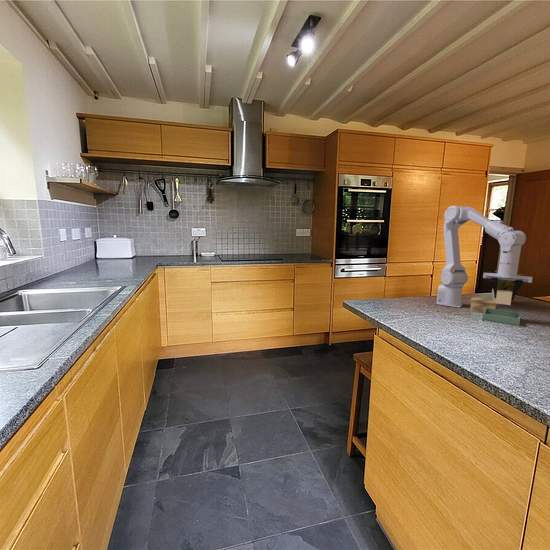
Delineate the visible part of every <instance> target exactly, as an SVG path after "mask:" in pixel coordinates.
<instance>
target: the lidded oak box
mask: <svg viewBox="0 0 550 550" xmlns="http://www.w3.org/2000/svg"><path fill="white" fill-rule="evenodd" d="M497 305H498V304H497V303H496V300H493V298H492V299H491V298H483V297H474V296H472V297H470V306H469V307H470V309H469V311H470V312H475V311H476V313H481V312H482V314H483V313H484V310H485V308H491V309H496V308H497Z"/></svg>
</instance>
